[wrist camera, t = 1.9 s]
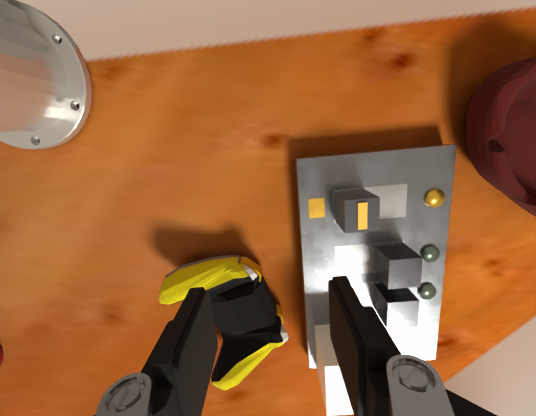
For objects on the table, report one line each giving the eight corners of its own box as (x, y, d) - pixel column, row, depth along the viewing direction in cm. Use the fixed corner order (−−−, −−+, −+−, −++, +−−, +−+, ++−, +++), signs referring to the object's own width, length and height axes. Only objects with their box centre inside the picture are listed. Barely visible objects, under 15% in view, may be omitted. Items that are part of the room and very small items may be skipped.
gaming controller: (225, 359, 34) (296, 333, 32) (217, 401, 28) (301, 371, 27) (167, 264, 30) (245, 231, 29) (145, 291, 25) (239, 252, 23)
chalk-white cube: (314, 325, 29) (324, 366, 24) (369, 321, 29) (391, 362, 24) (316, 368, 31) (326, 416, 26) (368, 364, 31) (389, 412, 26)
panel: (294, 157, 26) (300, 162, 21) (442, 143, 26) (487, 145, 21) (307, 354, 33) (314, 396, 28) (425, 346, 33) (455, 387, 27)
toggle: (334, 192, 25) (345, 200, 22) (365, 189, 25) (380, 197, 22) (335, 221, 26) (345, 234, 23) (365, 218, 26) (379, 231, 22)
